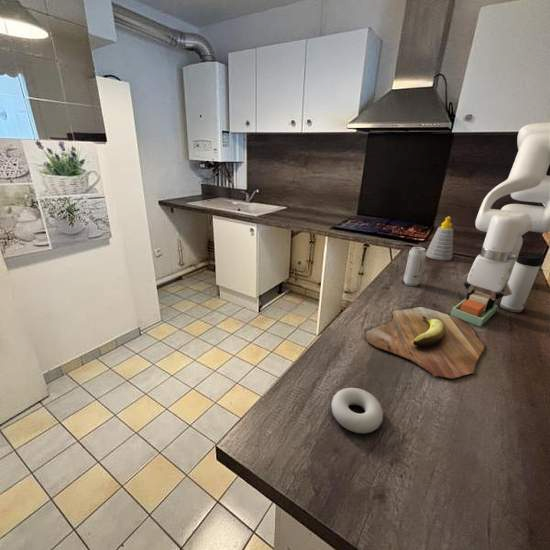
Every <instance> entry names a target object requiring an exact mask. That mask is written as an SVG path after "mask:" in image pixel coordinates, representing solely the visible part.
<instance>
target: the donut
mask: <svg viewBox="0 0 550 550" xmlns="http://www.w3.org/2000/svg"><path fill="white" fill-rule="evenodd" d="M330 406H331V413H332V415H333V417H334V418H335V421H336V422H337V423H338V424H339V425H340V426H341V427H343V428H344V429H346V430H348V431H349V432H353V433H355V434H368V433H373V432H374V431H375V430H377V429H379V428H380V426H381V424H382V423H383V420H384V410H383V408H382V405H381V403H380V402H379V400H378V399H377V398H376V396H374V395H373V394H372V393H370V392H369V391H367V390H365V389H361V388H358V387H346V388H342V389H340V390H338V391H337V392H336V393H335V394H334V395H333V397H332V400H331V405H330ZM350 406H358V407H360V408H361V409H362V410H363V411H364V412H362V413H357V412H354V411H353V410H351V409H350V408H349V407H350Z"/></svg>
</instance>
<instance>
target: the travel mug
mask: <svg viewBox="0 0 550 550" xmlns="http://www.w3.org/2000/svg"><path fill="white" fill-rule="evenodd" d="M545 257H546V256H545V254H543V253H536V252H519V254H518V257H517V260H516V262H515V265H514V267H513V270H512V273H511V276H510V278H509V281H508V285H509V287H510V289H511V291H512V294H511V295H509V296H504V297H501V301H500V302H499V306H500V308H501V309H503V310H505V311H508V312H511V313H522V311H523V310H524V307H525V305H526V302H527V300H528V297H529V295H530V293H531V290H532V287H533V285H534V284H535V283H534V282H535V280H536V278H537V275H538V273H539V270H540V267H541V265H542V262H543V260H544V258H545Z"/></svg>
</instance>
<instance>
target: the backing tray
mask: <svg viewBox="0 0 550 550" xmlns="http://www.w3.org/2000/svg"><path fill="white" fill-rule="evenodd" d="M465 301H466V297H465V298H464V299H463V300H461V301H459V303H457V304H456V305H455V306H453V307H452V308H451V311H450V316H452V317H455V318H458V319H460V320H462V321H463V322H467V323H470V324H473V325H475V326H477V327H482V326H483V325H484V324H485V323H487V321H488V320H489V319H490V318H491V317H492V316H493V315H494V314H495V313H496V312H497V308H498V304H494V305H493V307H492V308H490V309H489V310H485V311H484V312H483V313H482V316H480V317H477V316H474V315H471V314H469V313H466V312H463V311H460V308H461V305H462V303H464V302H465Z"/></svg>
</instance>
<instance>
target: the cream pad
mask: <svg viewBox="0 0 550 550" xmlns="http://www.w3.org/2000/svg"><path fill="white" fill-rule="evenodd" d="M490 297H491V294H488V293H484V292H481V291H479V290H474V293H473V294H471V295H470V298H469V300H472V301H475V302H478V303H481V304H484V305H485V307H484V310H483V312H484V311H485V310H486V306H487V303H488V301H489V298H490Z"/></svg>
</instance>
